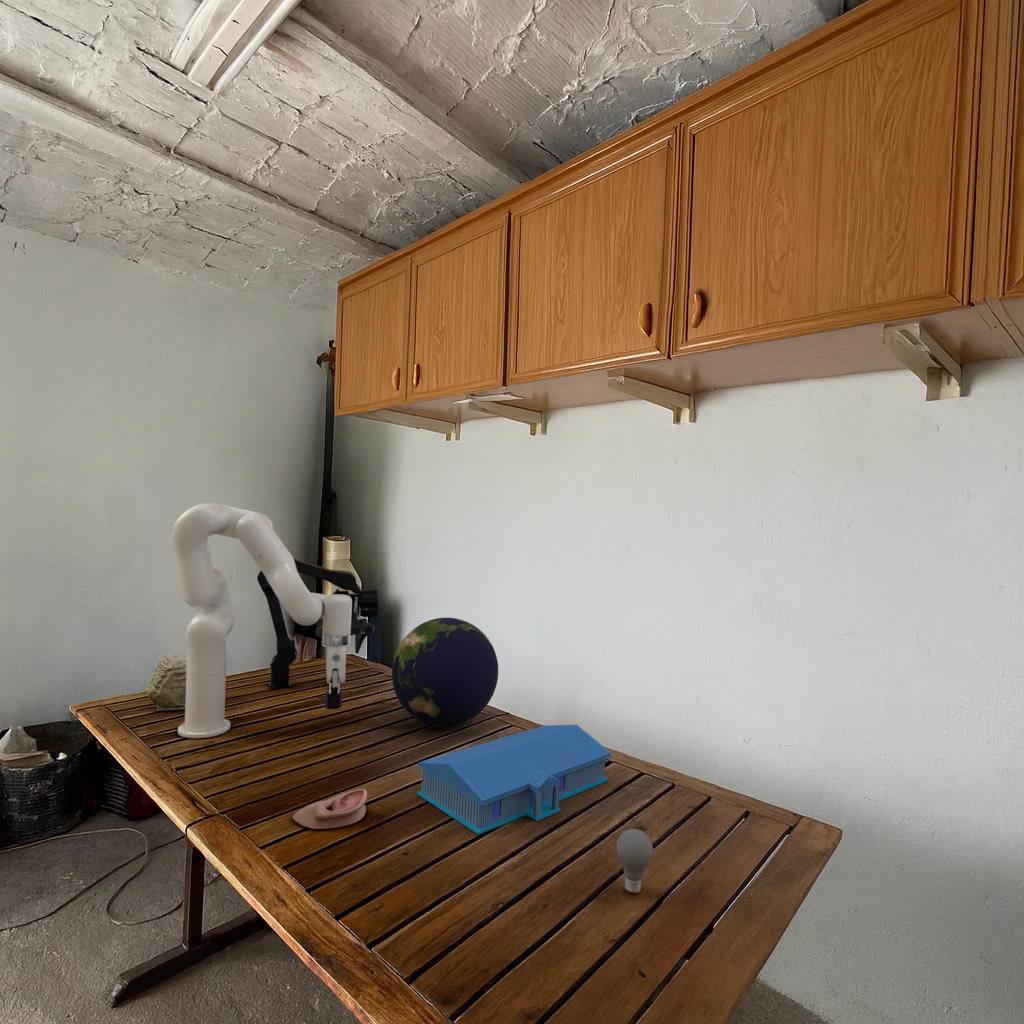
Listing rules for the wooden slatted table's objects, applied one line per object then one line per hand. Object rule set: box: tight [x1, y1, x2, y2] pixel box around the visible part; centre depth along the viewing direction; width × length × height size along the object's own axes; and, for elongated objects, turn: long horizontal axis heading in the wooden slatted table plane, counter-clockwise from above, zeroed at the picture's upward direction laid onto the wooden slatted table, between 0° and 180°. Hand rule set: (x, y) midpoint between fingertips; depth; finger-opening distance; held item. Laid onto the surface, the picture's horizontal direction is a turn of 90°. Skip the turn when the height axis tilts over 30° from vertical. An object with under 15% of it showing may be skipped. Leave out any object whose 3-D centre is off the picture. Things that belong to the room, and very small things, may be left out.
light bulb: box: [615, 828, 654, 894], centre depth 106 cm, size 6×6×10 cm
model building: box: [416, 724, 612, 835], centre depth 141 cm, size 39×24×10 cm, turn 132°
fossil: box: [147, 654, 187, 712], centre depth 185 cm, size 9×18×15 cm, turn 132°
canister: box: [324, 689, 343, 709], centre depth 175 cm, size 4×4×4 cm
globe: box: [391, 616, 499, 728], centre depth 179 cm, size 30×30×30 cm
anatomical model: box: [292, 788, 368, 830], centre depth 126 cm, size 13×4×12 cm
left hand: (333, 704), depth 175 cm, fingers closed on canister, 4 cm apart
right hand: (344, 655), depth 214 cm, fingers open, 9 cm apart
